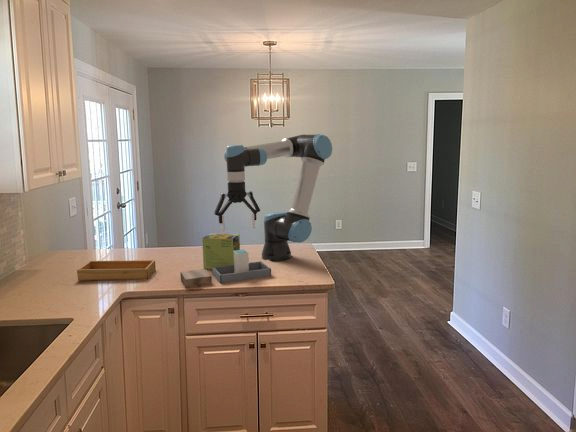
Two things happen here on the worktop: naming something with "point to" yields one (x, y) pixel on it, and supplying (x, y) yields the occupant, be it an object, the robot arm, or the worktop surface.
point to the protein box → (219, 249)
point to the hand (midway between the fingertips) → (238, 229)
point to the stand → (195, 278)
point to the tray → (116, 270)
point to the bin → (228, 275)
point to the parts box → (241, 261)
